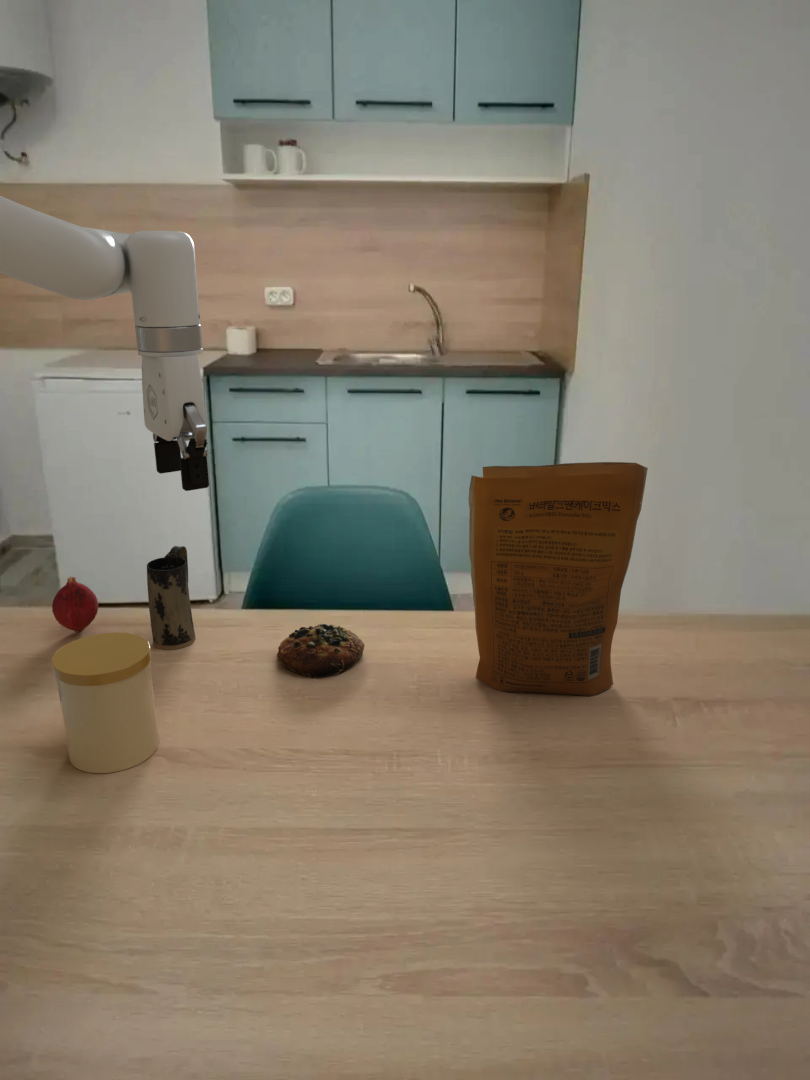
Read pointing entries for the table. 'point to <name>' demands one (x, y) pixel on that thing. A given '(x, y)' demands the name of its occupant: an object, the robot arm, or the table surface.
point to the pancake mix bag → (551, 572)
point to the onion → (75, 605)
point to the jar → (107, 701)
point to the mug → (170, 600)
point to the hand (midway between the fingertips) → (182, 479)
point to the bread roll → (320, 650)
